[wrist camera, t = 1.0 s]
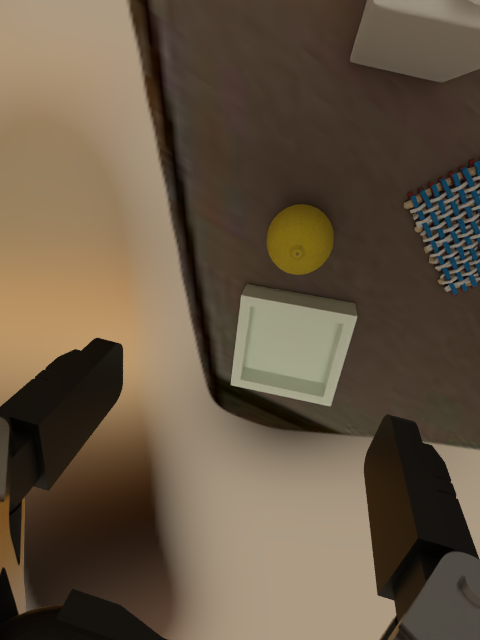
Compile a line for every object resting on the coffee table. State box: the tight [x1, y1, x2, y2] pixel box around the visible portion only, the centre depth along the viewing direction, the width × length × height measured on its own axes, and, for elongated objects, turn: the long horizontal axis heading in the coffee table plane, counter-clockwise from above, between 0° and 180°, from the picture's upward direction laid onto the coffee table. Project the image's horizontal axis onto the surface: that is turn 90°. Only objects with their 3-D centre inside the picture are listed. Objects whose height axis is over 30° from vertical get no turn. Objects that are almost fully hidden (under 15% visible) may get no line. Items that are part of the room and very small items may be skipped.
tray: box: [231, 284, 358, 406], centre depth 38 cm, size 11×11×3 cm
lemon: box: [267, 204, 334, 275], centre depth 31 cm, size 6×6×8 cm
